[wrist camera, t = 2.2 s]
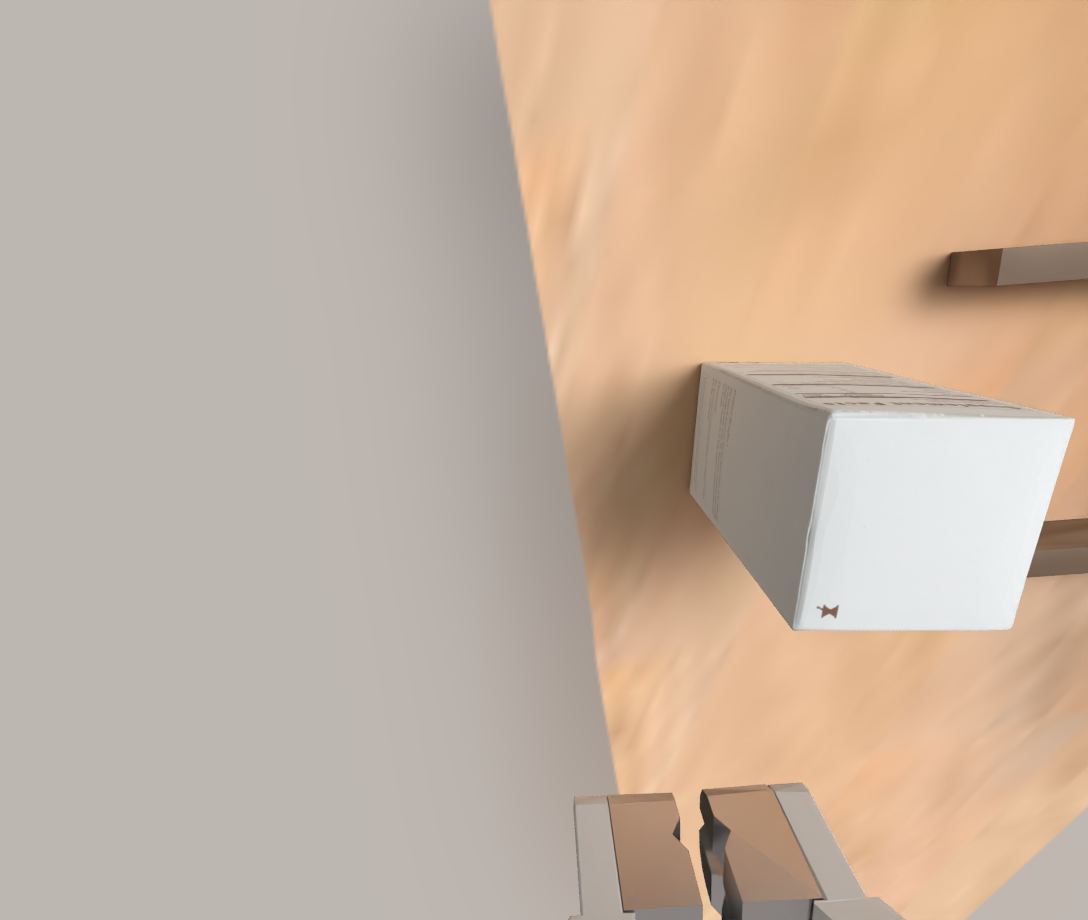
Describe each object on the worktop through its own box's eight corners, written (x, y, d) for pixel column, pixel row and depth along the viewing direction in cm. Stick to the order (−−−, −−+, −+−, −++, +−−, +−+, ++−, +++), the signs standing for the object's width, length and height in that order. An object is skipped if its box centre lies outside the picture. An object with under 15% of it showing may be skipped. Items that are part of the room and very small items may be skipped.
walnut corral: (951, 252, 26) (1003, 248, 23) (1240, 230, 26) (1329, 222, 23) (907, 555, 31) (945, 583, 28) (1150, 538, 30) (1213, 564, 28)
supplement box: (821, 496, 30) (1015, 640, 18) (685, 493, 29) (786, 638, 17) (846, 358, 27) (1090, 416, 15) (699, 355, 27) (828, 412, 15)
